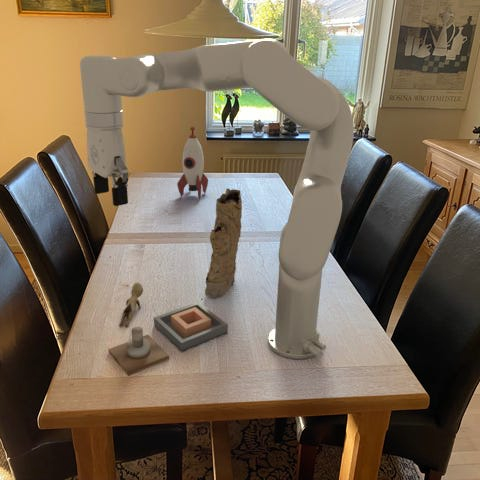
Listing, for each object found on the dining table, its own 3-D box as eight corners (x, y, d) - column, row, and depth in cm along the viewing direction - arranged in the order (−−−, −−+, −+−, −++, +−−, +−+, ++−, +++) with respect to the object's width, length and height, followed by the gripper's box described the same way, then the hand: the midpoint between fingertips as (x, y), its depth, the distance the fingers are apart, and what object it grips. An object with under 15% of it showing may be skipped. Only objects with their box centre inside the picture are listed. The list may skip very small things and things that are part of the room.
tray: (227, 333, 120) (227, 324, 119) (181, 352, 113) (181, 342, 112) (198, 310, 130) (198, 301, 129) (154, 326, 122) (153, 317, 121)
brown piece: (169, 359, 110) (168, 332, 108) (128, 376, 105) (125, 348, 102) (148, 337, 118) (146, 312, 115) (108, 352, 112) (106, 326, 109)
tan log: (203, 282, 144) (202, 183, 132) (238, 281, 145) (241, 183, 133) (206, 307, 131) (205, 200, 119) (244, 305, 132) (248, 199, 121)
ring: (186, 339, 116) (186, 328, 115) (171, 326, 122) (171, 315, 120) (210, 330, 120) (210, 319, 119) (195, 317, 125) (195, 307, 124)
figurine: (131, 333, 123) (146, 292, 135) (129, 320, 120) (144, 280, 132) (117, 332, 123) (133, 292, 135) (114, 319, 121) (130, 279, 133)
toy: (177, 197, 214) (175, 127, 202) (186, 190, 223) (185, 123, 211) (201, 200, 211) (200, 129, 199) (209, 193, 220) (209, 125, 208)
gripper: (71, 115, 106) (79, 191, 113) (104, 128, 93) (111, 213, 100) (104, 112, 110) (110, 185, 117) (140, 124, 98) (144, 206, 104)
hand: (111, 198), depth 109 cm, fingers open, 9 cm apart
